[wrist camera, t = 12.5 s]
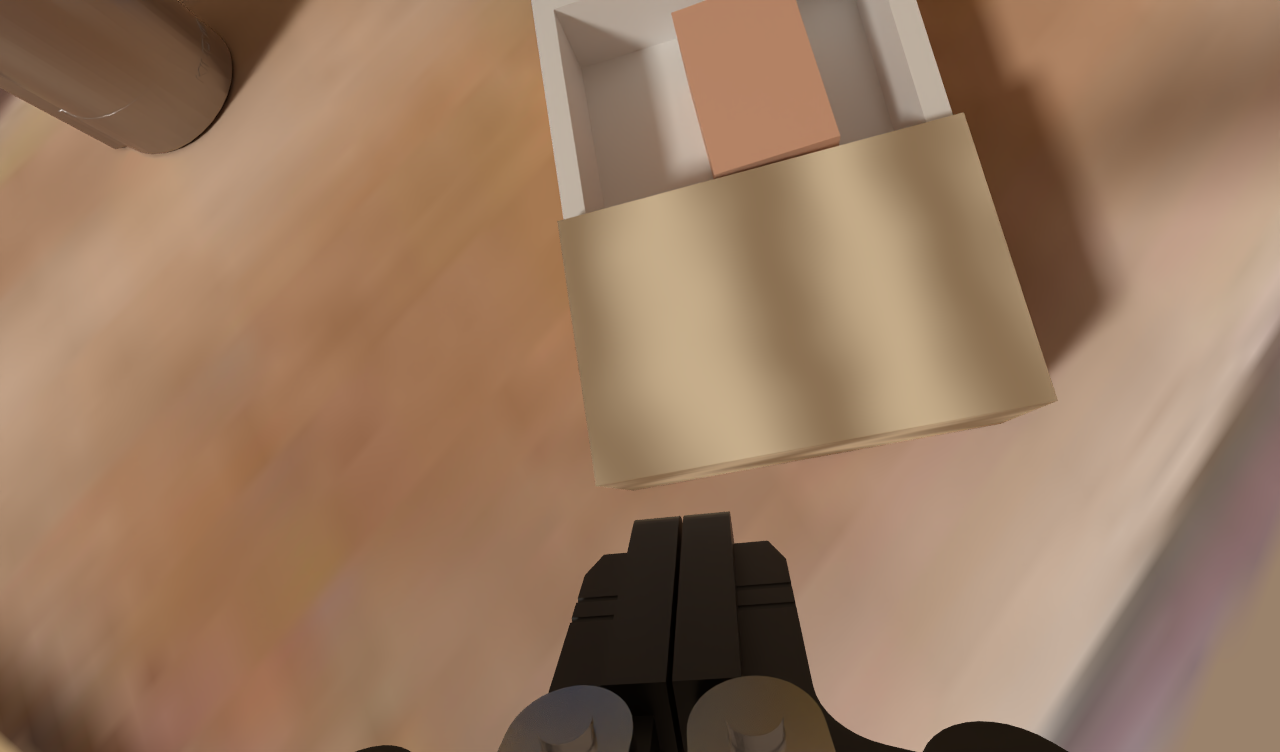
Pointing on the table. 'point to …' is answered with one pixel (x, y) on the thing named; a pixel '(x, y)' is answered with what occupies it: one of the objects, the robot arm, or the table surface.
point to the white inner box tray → (661, 100)
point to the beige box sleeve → (799, 311)
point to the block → (753, 83)
